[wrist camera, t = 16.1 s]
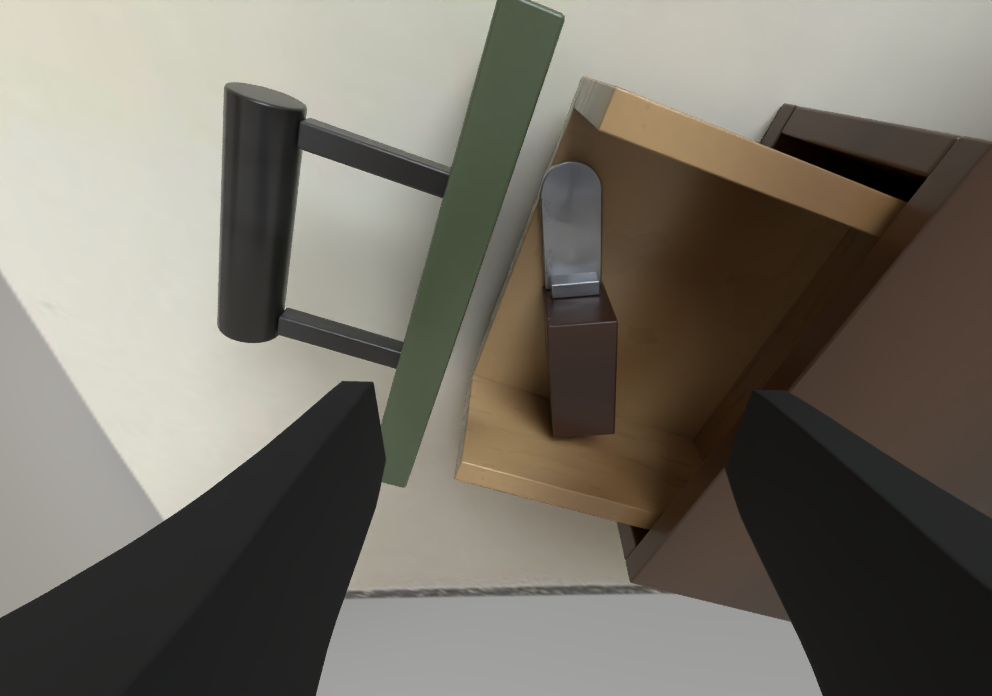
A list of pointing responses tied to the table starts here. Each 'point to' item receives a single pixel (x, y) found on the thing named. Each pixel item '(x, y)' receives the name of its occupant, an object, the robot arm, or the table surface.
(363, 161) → the drawer
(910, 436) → the cabinet
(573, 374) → the knife
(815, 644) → the robot arm
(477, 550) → the table surface
